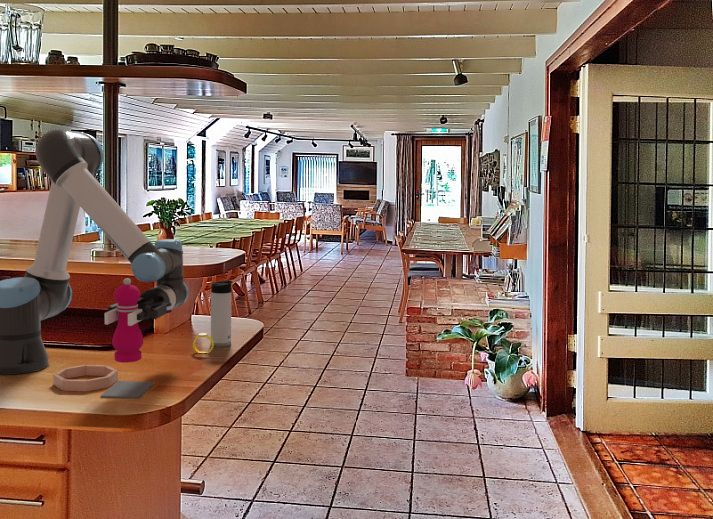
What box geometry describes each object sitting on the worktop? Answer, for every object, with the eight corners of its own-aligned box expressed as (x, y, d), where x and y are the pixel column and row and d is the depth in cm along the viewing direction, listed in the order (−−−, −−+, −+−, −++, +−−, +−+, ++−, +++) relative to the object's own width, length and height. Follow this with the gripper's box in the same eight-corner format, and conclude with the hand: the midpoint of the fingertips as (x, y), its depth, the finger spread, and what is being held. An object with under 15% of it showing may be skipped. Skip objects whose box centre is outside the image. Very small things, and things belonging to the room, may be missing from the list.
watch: (192, 355, 207) (191, 335, 206) (195, 352, 210) (193, 333, 209) (212, 354, 207) (211, 334, 206) (215, 352, 210) (213, 332, 209)
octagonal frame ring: (45, 389, 170) (45, 379, 170) (70, 373, 184) (70, 364, 184) (102, 391, 170) (102, 381, 170) (123, 375, 184) (123, 366, 184)
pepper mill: (126, 354, 176) (124, 275, 173) (149, 357, 173) (149, 277, 171) (106, 360, 169) (104, 278, 166) (130, 364, 166) (129, 281, 164)
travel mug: (234, 345, 218) (235, 282, 216) (214, 347, 215) (214, 283, 212) (228, 341, 224) (228, 279, 221) (208, 343, 220) (208, 280, 218)
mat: (100, 397, 166) (100, 395, 166) (118, 382, 178) (118, 380, 178) (138, 398, 166) (138, 397, 166) (154, 383, 178) (154, 382, 178)
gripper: (189, 316, 187) (154, 337, 164) (124, 313, 189) (81, 333, 166) (189, 289, 186) (154, 305, 163) (124, 286, 188) (80, 301, 165)
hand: (117, 319), depth 164 cm, fingers closed on pepper mill, 5 cm apart
